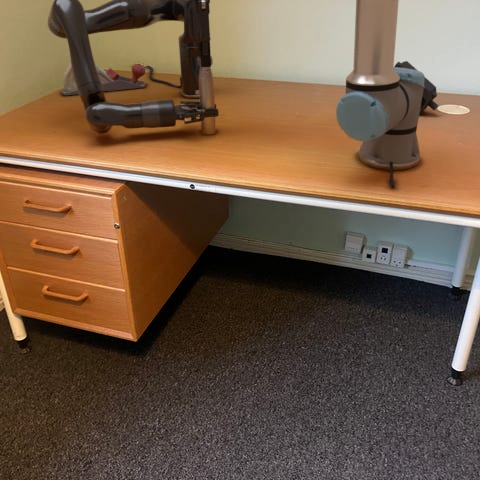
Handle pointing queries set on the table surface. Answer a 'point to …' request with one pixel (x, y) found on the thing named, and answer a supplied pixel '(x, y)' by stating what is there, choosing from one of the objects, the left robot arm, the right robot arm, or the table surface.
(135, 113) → the left robot arm
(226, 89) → the table surface
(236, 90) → the table surface
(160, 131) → the table surface
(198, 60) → the cap
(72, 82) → the hand plane
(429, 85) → the tool
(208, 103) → the bottle
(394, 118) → the right robot arm
